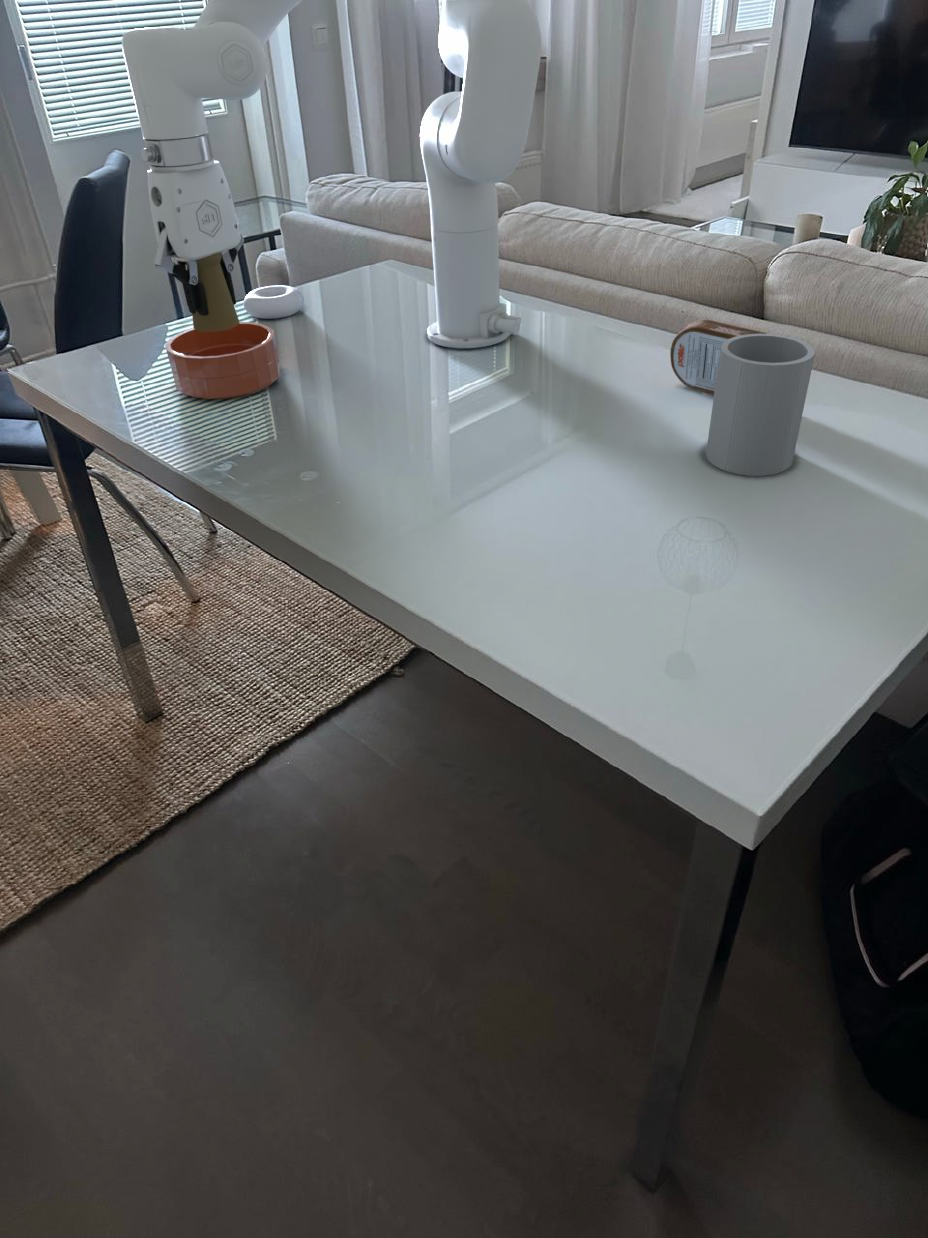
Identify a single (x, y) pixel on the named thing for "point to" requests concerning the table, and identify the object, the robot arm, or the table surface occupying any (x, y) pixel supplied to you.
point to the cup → (758, 403)
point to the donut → (273, 302)
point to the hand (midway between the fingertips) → (213, 307)
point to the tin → (701, 352)
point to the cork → (214, 297)
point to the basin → (224, 361)
